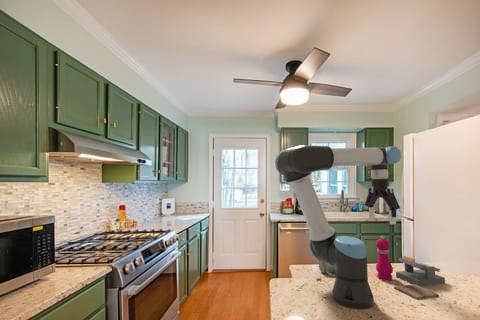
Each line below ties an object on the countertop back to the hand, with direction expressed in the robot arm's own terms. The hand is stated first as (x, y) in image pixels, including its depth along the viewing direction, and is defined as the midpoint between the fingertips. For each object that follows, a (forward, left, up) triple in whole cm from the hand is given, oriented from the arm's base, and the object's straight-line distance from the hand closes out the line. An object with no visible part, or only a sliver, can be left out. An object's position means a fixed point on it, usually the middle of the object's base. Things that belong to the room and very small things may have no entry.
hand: (382, 222), depth 129 cm
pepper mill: (0, 0, -27) cm, 27 cm away
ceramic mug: (-21, +13, -27) cm, 36 cm away
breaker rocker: (+13, -6, -21) cm, 26 cm away
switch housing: (+14, -6, -27) cm, 30 cm away
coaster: (0, -17, -27) cm, 31 cm away
